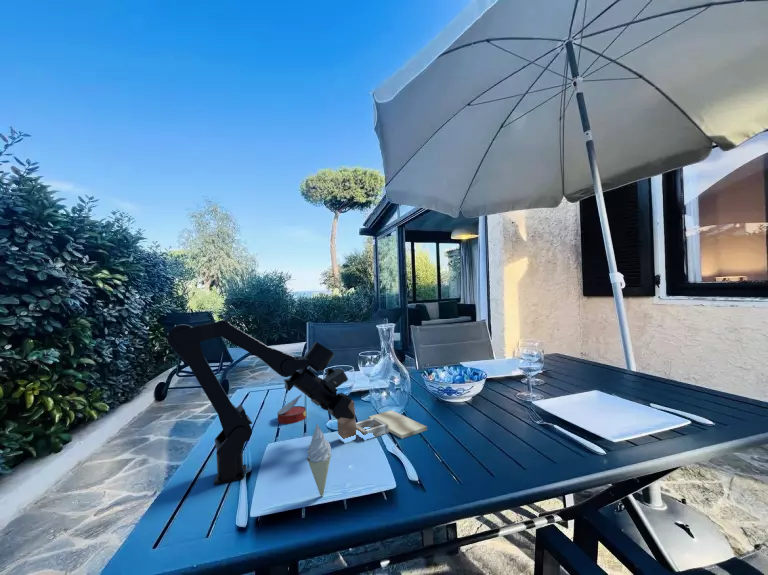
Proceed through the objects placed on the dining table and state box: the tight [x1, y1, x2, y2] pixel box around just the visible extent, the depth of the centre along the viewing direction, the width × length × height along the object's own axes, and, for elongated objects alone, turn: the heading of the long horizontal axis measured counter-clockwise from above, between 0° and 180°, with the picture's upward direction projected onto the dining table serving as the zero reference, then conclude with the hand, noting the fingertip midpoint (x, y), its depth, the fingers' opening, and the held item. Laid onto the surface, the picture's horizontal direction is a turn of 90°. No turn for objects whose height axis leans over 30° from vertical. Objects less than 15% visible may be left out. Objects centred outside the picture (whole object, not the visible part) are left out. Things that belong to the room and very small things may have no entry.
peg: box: [336, 400, 357, 439], centre depth 96 cm, size 4×4×11 cm
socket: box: [356, 409, 428, 440], centre depth 102 cm, size 18×20×2 cm
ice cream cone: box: [306, 423, 332, 497], centre depth 69 cm, size 5×5×15 cm
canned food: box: [276, 393, 307, 425], centre depth 117 cm, size 11×10×10 cm
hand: (350, 415), depth 97 cm, fingers closed on peg, 4 cm apart
